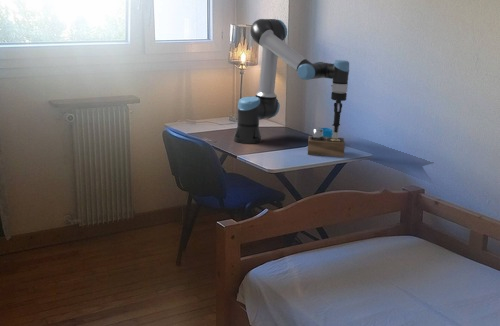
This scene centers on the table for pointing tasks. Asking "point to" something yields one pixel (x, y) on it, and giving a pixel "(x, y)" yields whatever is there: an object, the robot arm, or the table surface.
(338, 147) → the socket block
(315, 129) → the steel peg
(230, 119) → the table surface
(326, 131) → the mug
